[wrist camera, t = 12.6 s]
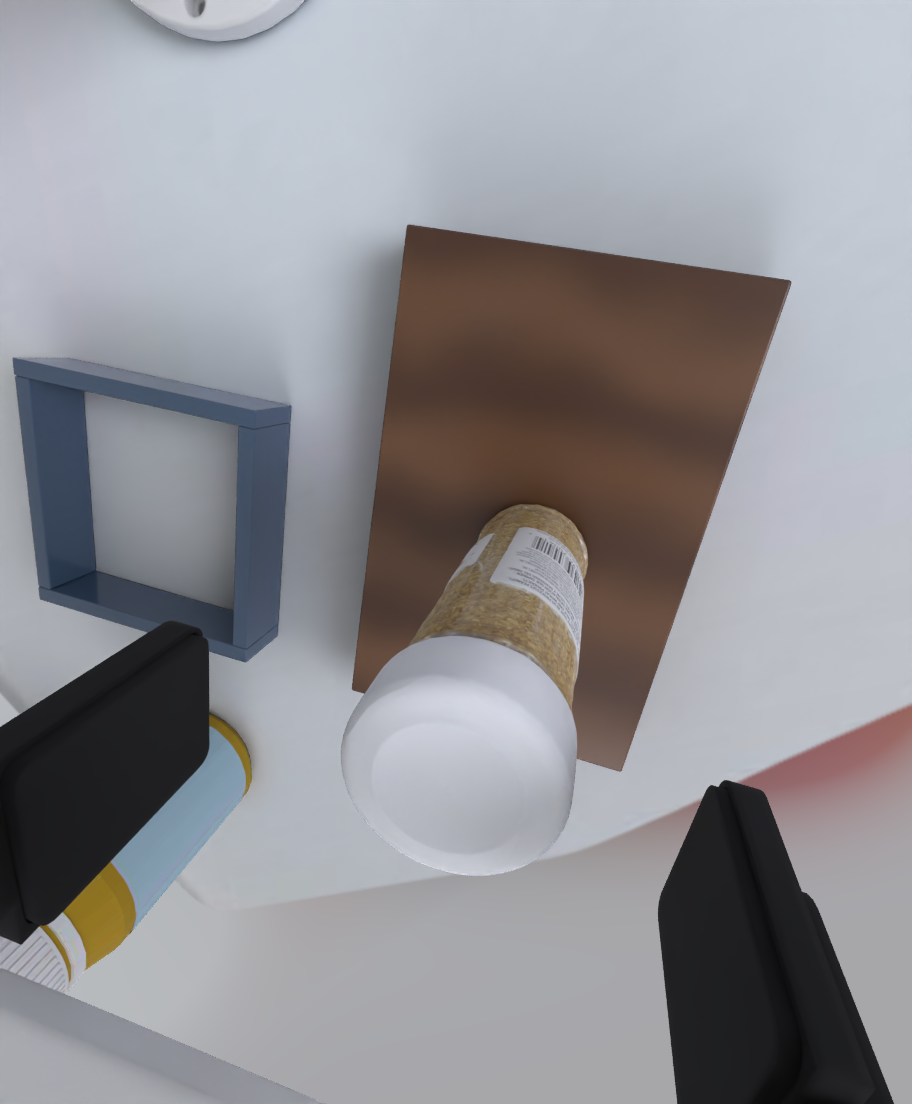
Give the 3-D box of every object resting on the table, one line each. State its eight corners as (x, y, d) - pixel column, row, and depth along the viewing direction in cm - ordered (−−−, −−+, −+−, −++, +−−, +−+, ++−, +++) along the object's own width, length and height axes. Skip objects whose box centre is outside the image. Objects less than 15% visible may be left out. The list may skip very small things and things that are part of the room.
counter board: (430, 240, 23) (406, 223, 20) (767, 291, 20) (793, 280, 18) (374, 660, 30) (351, 690, 27) (619, 731, 28) (621, 773, 25)
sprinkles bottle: (459, 525, 23) (291, 717, 11) (564, 483, 21) (508, 652, 9) (504, 622, 24) (397, 901, 12) (607, 588, 22) (612, 870, 10)
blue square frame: (68, 357, 29) (11, 357, 26) (291, 405, 26) (255, 410, 24) (86, 579, 33) (39, 599, 30) (277, 636, 31) (245, 663, 28)
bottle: (256, 718, 33) (9, 972, 19) (258, 810, 36) (40, 1092, 22) (155, 692, 35) (-142, 911, 21) (164, 781, 37) (-97, 1030, 23)
